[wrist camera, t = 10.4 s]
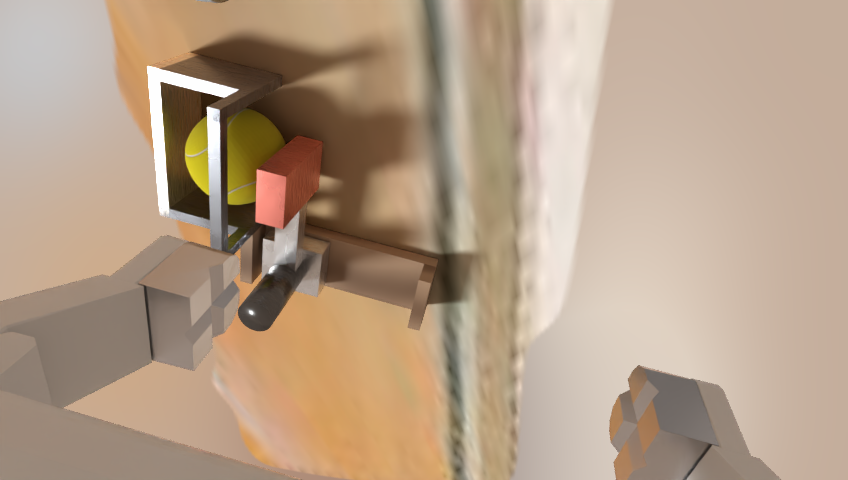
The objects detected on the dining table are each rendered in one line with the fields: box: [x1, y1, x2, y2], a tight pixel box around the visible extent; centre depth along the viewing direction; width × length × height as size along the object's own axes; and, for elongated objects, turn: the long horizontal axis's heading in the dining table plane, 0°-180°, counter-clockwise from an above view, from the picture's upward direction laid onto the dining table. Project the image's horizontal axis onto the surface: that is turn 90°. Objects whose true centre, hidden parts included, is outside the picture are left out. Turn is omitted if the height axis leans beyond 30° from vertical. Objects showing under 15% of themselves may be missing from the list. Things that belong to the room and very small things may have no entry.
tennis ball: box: [185, 108, 286, 205], centre depth 39 cm, size 7×7×7 cm
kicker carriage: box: [238, 135, 330, 331], centre depth 40 cm, size 13×5×9 cm, turn 169°
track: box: [240, 224, 438, 330], centre depth 45 cm, size 5×16×4 cm, turn 79°
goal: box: [147, 52, 282, 254], centre depth 38 cm, size 12×7×9 cm, turn 169°
